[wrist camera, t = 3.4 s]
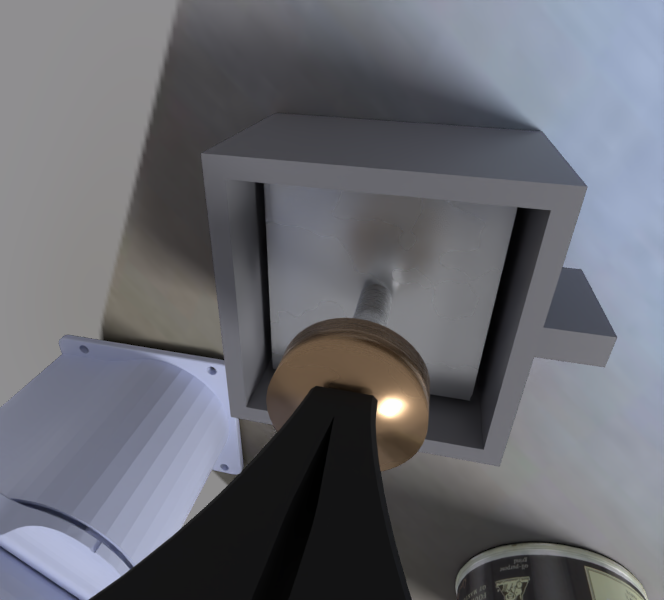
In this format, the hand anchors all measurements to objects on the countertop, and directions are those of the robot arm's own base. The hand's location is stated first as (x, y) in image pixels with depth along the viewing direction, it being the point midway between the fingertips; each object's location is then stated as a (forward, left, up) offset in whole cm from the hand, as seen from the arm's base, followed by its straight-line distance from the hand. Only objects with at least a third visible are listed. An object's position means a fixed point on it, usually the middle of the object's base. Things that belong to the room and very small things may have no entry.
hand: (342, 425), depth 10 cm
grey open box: (0, 0, -10) cm, 10 cm away
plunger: (0, 0, -6) cm, 6 cm away
